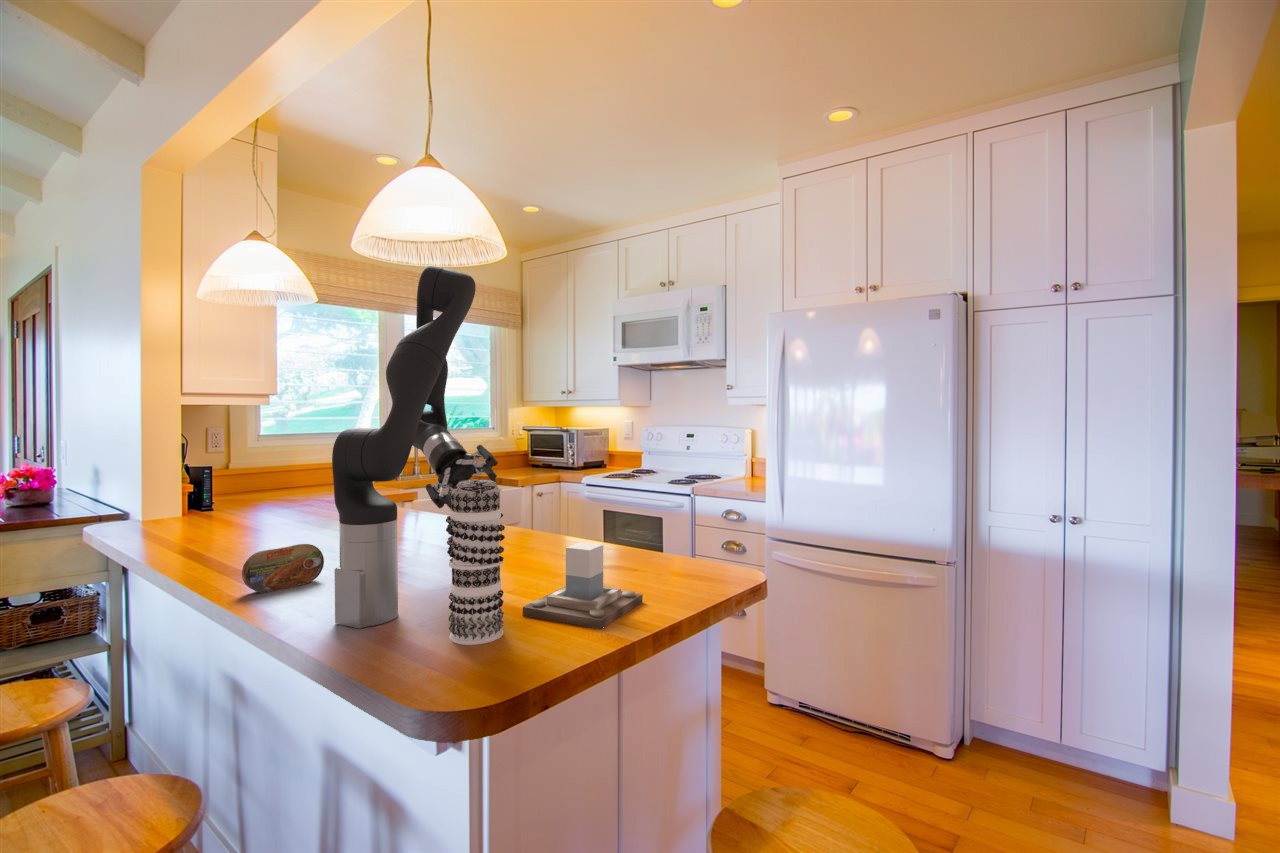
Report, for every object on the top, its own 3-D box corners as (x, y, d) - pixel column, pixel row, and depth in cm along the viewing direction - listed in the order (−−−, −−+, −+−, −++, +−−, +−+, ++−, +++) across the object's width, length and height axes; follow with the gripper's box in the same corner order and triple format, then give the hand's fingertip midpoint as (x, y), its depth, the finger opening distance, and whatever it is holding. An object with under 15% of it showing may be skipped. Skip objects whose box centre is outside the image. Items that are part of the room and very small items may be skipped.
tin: (246, 597, 118) (245, 554, 117) (239, 594, 120) (239, 552, 119) (325, 580, 130) (324, 541, 129) (318, 577, 132) (317, 539, 131)
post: (589, 606, 108) (589, 550, 108) (565, 602, 110) (565, 547, 110) (603, 598, 112) (603, 544, 112) (580, 594, 114) (580, 542, 114)
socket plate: (601, 629, 100) (601, 611, 100) (522, 615, 107) (522, 598, 107) (642, 602, 115) (642, 586, 115) (570, 591, 122) (570, 576, 122)
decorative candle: (444, 629, 100) (443, 479, 100) (500, 622, 104) (500, 477, 103) (448, 649, 92) (447, 485, 91) (510, 640, 95) (509, 482, 95)
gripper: (407, 466, 123) (432, 505, 111) (464, 423, 126) (494, 456, 114) (428, 489, 127) (454, 528, 116) (483, 446, 131) (514, 481, 119)
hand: (474, 493), depth 115 cm, fingers open, 8 cm apart
